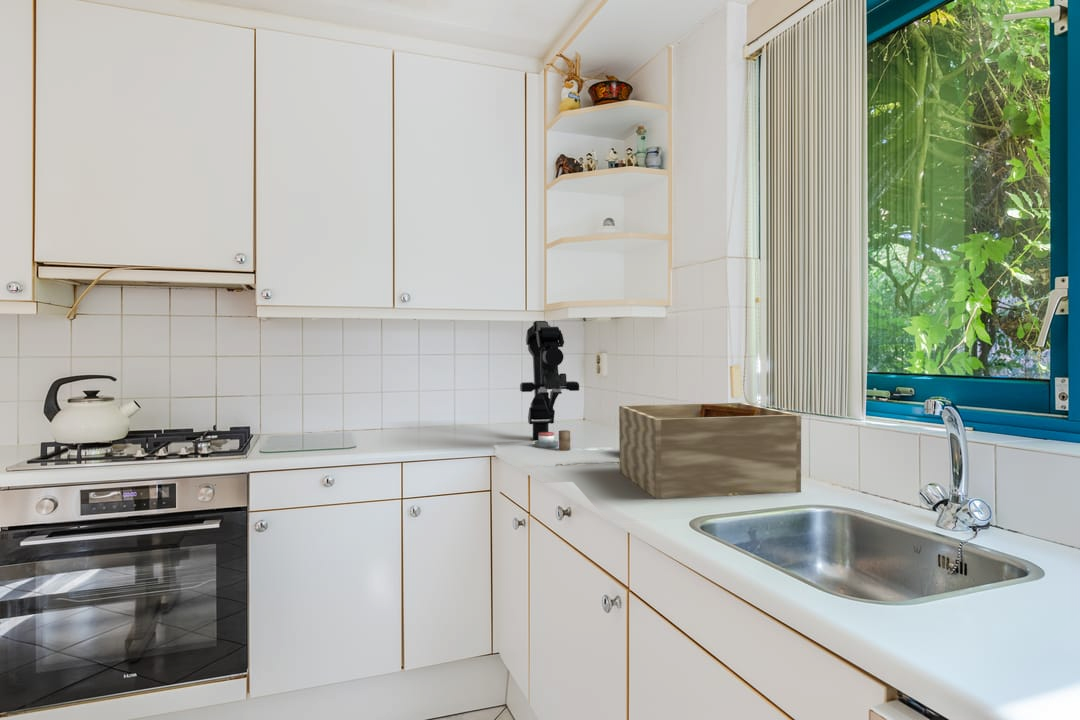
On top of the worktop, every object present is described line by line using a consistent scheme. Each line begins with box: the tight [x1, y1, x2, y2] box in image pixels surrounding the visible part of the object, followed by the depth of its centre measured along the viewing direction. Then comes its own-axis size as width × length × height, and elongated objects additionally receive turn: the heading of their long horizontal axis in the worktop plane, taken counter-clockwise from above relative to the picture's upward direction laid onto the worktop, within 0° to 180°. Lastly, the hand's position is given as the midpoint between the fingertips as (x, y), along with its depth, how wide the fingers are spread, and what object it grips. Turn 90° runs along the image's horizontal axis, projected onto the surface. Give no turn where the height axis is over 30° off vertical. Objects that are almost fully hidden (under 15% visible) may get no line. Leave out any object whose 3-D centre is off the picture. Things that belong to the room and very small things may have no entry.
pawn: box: [558, 429, 571, 452], centre depth 193 cm, size 4×4×6 cm
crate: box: [618, 402, 802, 500], centre depth 154 cm, size 29×35×18 cm
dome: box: [538, 431, 555, 444], centre depth 200 cm, size 5×5×3 cm
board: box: [534, 440, 614, 453], centre depth 198 cm, size 15×24×2 cm, turn 99°
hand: (549, 413), depth 198 cm, fingers closed
